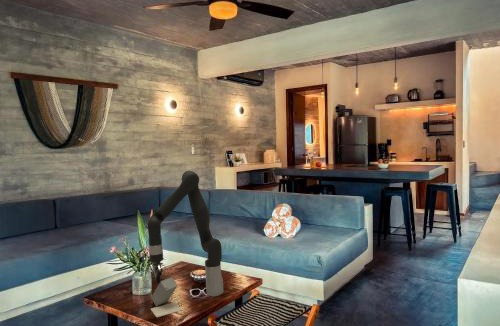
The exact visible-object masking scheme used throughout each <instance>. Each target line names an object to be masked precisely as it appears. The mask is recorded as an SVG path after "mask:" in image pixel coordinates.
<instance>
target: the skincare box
mask: <svg viewBox="0 0 500 326" xmlns="http://www.w3.org/2000/svg"><path fill="white" fill-rule="evenodd" d="M177 288H178V284H177V282H176V281H175V279H174V278H173V277H172V276H171V277H169V278H165V279H164V280H163V279H162V280H160V283H158V285H157V287H156V289H155V290H154V292H153V293H152V295H151V298H150V299H151V301H152V302H153V303H154V305H155V307H159V306H162V305H164V304H167V303H168V302H169V300H170V298H171V297H172V295H173V294H174V292H175V291H176V289H177Z"/></svg>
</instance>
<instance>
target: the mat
mask: <svg viewBox="0 0 500 326" xmlns="http://www.w3.org/2000/svg"><path fill="white" fill-rule="evenodd" d="M150 311H151V313H152V314H154V316H155V318H160V317H163V316H167V315H170V314H171V315H172V314H175V313H178V312H182V311H183V308H181V307H180V305H178V304H177V302H171V303H165V304H161V305H159V306H157V307H156V306H154V307H151V308H150Z"/></svg>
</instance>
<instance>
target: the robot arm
mask: <svg viewBox="0 0 500 326" xmlns="http://www.w3.org/2000/svg"><path fill="white" fill-rule="evenodd" d="M199 183H200V177H199V175H198V174H197V173H196V172H194V171H192V170H186V171H184V172H183V173H182V174H181V184H180V185H179V186H178V187H177V189H176V190H174V192H173V193H171V194H170V195H169V196H168V197H167V198H166V199H164V201H163V202H162V204H160V206H159V207H158V209H157V210H156V211H155V212H154V213H153V214H152V215H151V216H150V217H149V219H148V220H147V232H148V253H149V254H148V256H149V262H150V263H152V264H151V267H152V271H153V272H152V273H153V274H154V276H155V278H154V279H155V283H156V284H160V282H161V277H162V272H163V268H162V263H161V262H162V261H163V260H164V249H163V240H162V233H161V231H162V227H161V225H162V223H163V222H164V220H165V219H166V218H167V217H169V216H170V215H171V214H172V212H173V211H174V210H175V209H176V208H177V206H179V204H180V203H181V201H182V200H183V199H184V198H185V197H186V196H187V197H188V201H189V202H188V203H189V206H190V209H191V214H192V217H193V221H194V222H195V226H196V228H197V231H198V235H199V240H200V241H199V242H200V245H201V249H202V250H203V251H204V252H205V253H207V259H205V261H204V269H205V270H204V271H205V290H206V295H207V296H209V297H217V296H221V295H222V294H224V278H223V276H222V267H221V266H222V265H221V263H222V257H223V256H222V254H223V253H222V250H223V249H222V242H221V241H220V240H219V239H218V238H215V237H213V235H212V232H211V229H210V220H211V216H210V211H209V209H208V208H209V207H208V206H207V204H206V200H205V199H204V197H203V195H202V193H201V191H200V187H199Z"/></svg>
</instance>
